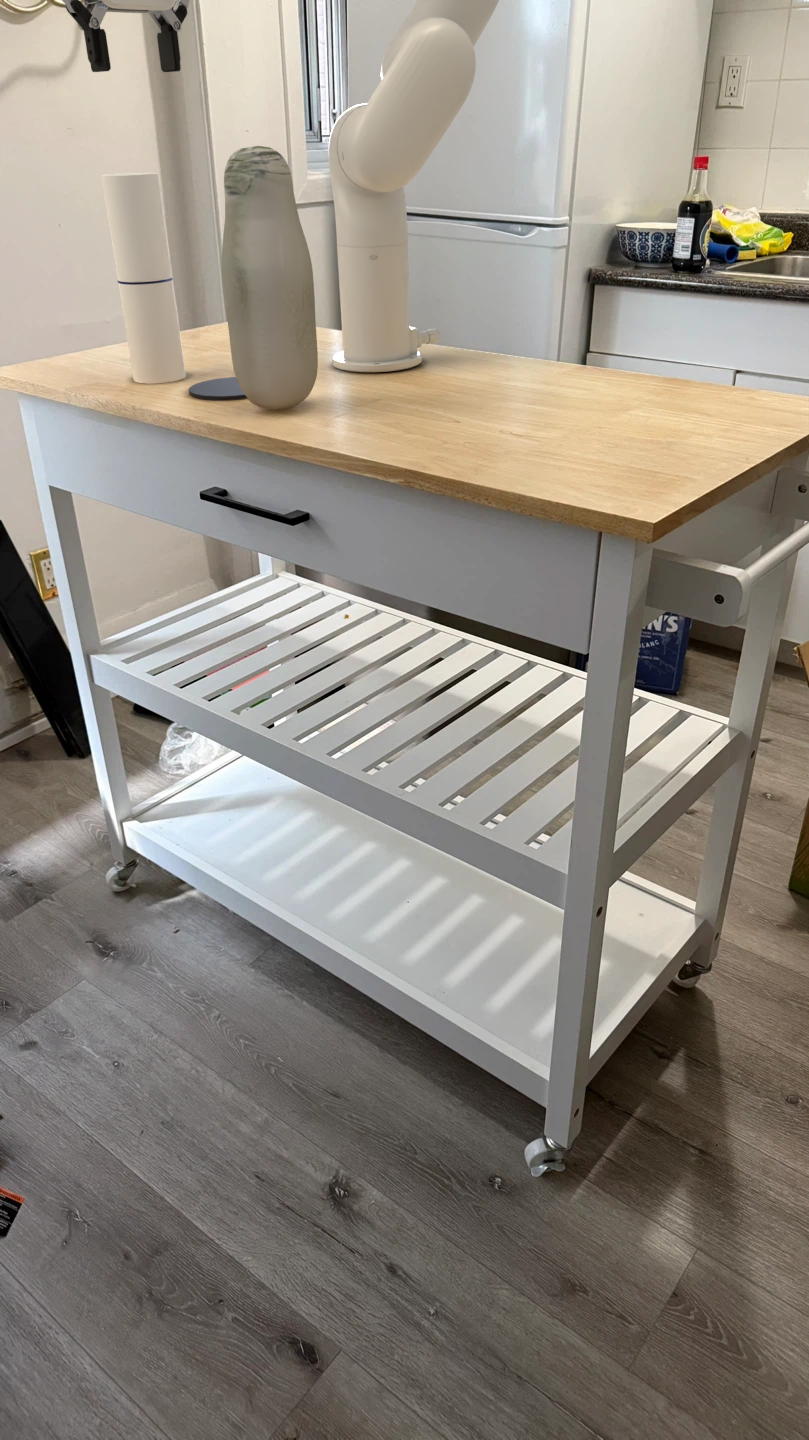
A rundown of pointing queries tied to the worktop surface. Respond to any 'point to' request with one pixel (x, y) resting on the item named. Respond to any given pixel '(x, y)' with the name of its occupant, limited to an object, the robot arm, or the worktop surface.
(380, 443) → the worktop surface
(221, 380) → the coaster
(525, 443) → the worktop surface
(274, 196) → the standing stone ornament
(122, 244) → the cylindrical container
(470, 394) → the worktop surface
